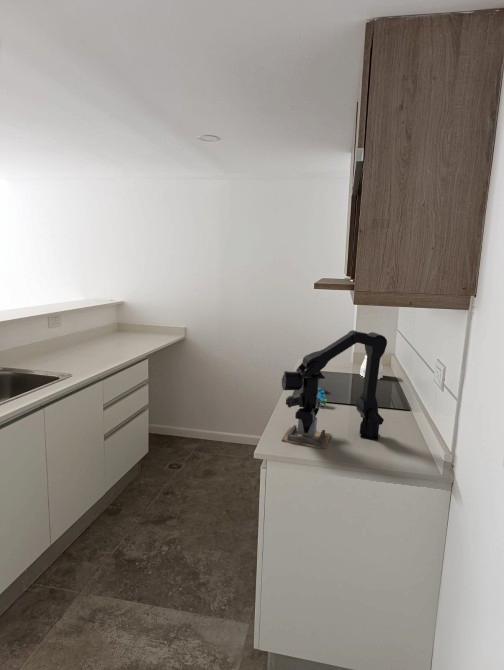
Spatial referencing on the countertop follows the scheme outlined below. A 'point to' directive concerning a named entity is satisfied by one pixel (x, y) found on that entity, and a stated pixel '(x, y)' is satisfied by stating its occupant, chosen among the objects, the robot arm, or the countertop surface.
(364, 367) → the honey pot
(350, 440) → the countertop surface
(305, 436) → the dock
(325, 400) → the blue splash shape
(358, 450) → the countertop surface
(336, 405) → the countertop surface
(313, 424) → the block
